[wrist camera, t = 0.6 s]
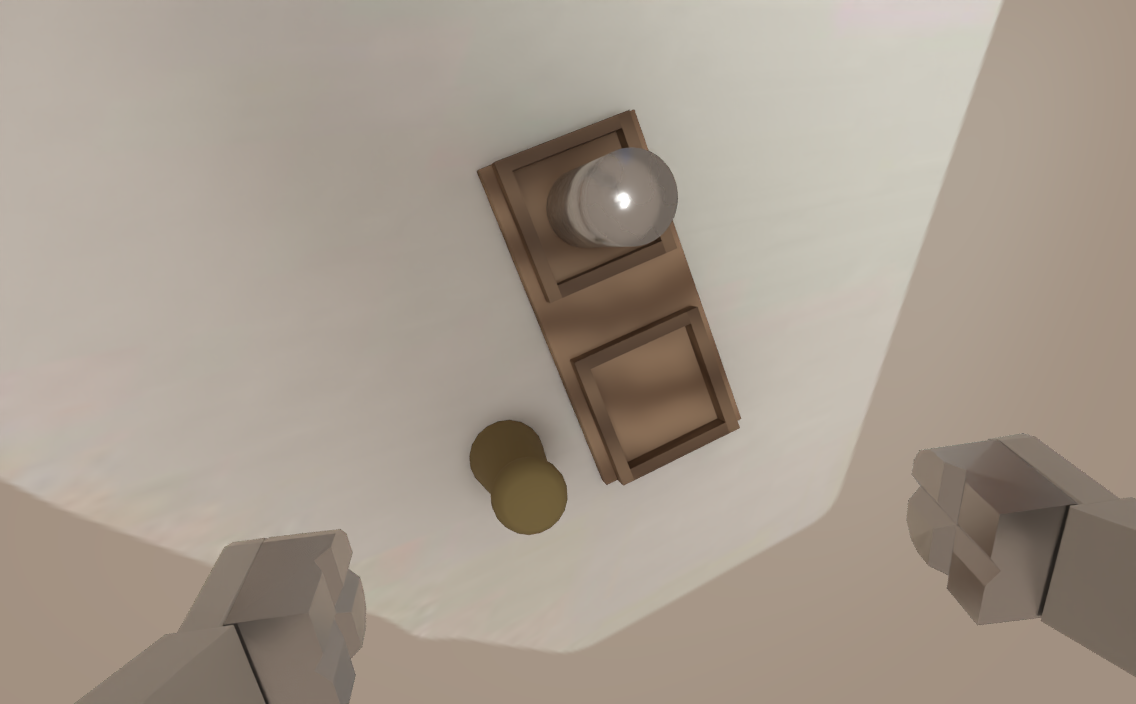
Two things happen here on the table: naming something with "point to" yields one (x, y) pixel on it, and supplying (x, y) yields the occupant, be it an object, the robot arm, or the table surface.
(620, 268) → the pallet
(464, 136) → the table surface
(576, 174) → the steel cylinder
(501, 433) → the cork
